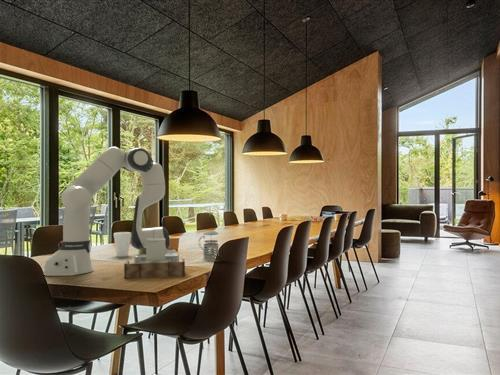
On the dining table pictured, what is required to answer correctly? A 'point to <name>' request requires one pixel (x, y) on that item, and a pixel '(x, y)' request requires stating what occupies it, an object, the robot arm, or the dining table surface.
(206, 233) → the french press
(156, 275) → the box
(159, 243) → the skincare box
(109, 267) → the dining table surface
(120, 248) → the foam cup
